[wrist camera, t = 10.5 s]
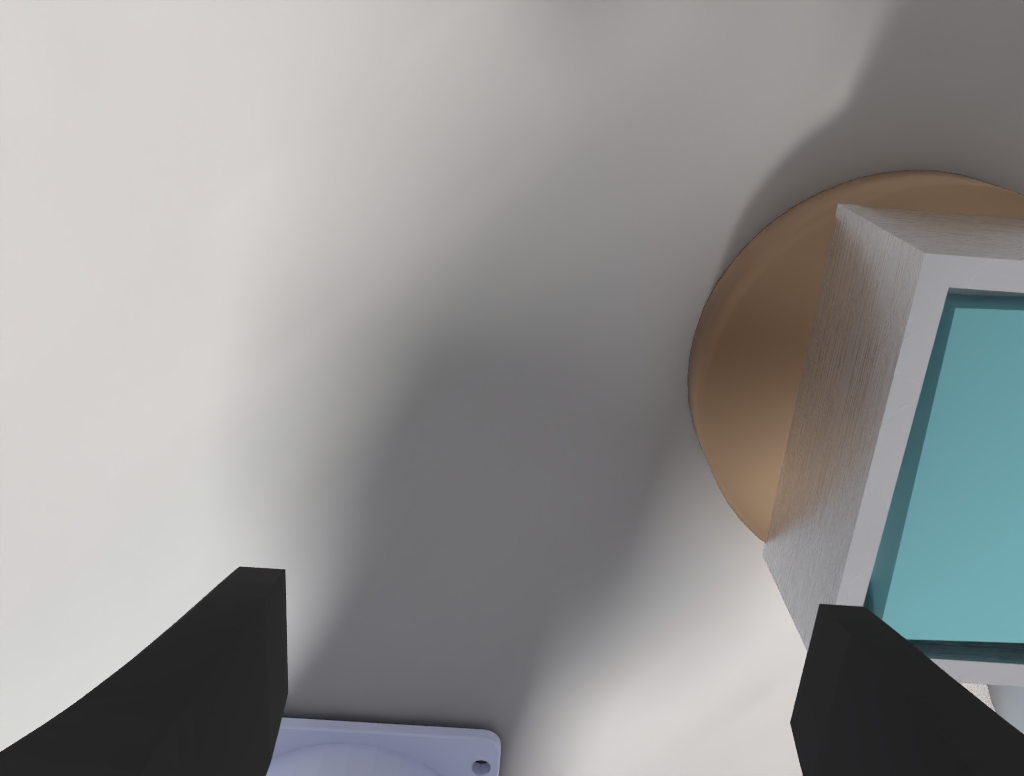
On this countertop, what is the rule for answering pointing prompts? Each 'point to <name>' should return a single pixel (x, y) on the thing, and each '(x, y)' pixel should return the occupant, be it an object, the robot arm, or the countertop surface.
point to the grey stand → (1009, 704)
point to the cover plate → (961, 486)
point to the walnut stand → (789, 327)
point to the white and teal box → (877, 405)
